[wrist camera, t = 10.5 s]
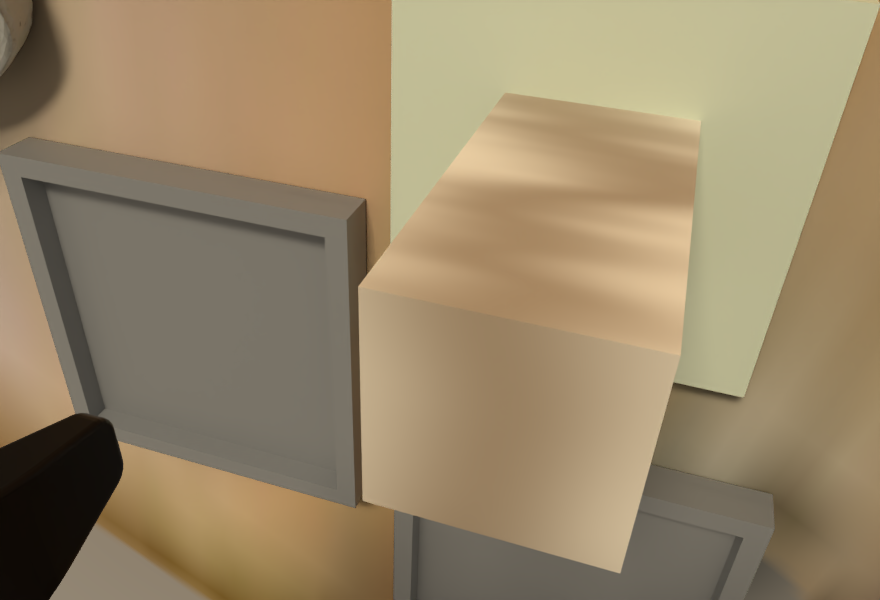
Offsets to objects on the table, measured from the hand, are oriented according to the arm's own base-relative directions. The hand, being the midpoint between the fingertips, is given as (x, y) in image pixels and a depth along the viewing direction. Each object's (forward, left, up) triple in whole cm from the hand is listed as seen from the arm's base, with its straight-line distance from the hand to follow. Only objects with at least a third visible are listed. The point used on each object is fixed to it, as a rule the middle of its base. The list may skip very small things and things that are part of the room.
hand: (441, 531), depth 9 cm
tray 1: (+10, +7, -10) cm, 16 cm away
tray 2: (-1, +13, -10) cm, 17 cm away
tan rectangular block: (0, 0, -10) cm, 10 cm away
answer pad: (0, 0, -10) cm, 10 cm away
